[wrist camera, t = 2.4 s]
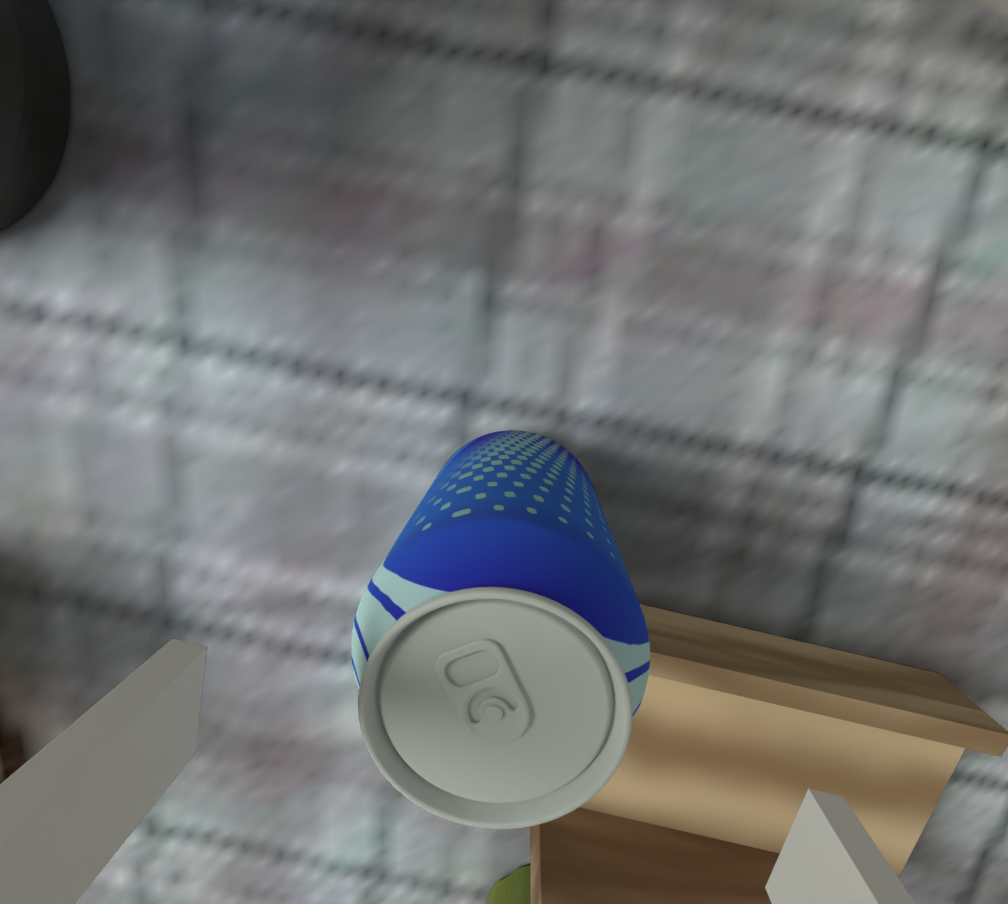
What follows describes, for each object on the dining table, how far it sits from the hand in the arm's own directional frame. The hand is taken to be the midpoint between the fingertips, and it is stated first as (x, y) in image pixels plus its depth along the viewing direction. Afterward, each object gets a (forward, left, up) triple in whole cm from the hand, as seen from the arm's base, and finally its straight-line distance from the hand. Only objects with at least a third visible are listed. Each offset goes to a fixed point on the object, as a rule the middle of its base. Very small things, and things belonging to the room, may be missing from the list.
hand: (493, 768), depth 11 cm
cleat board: (+10, +15, -17) cm, 25 cm away
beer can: (0, 0, -18) cm, 18 cm away
